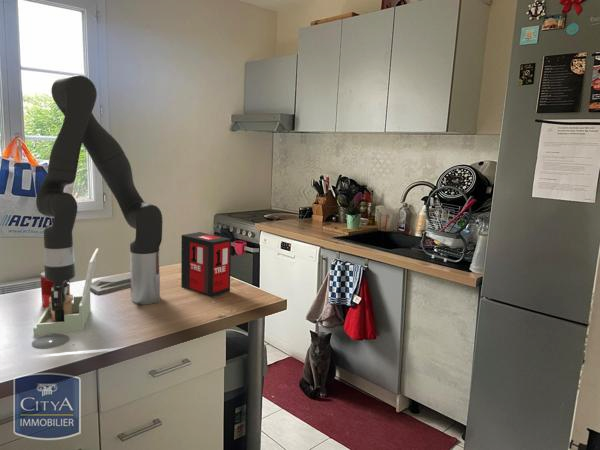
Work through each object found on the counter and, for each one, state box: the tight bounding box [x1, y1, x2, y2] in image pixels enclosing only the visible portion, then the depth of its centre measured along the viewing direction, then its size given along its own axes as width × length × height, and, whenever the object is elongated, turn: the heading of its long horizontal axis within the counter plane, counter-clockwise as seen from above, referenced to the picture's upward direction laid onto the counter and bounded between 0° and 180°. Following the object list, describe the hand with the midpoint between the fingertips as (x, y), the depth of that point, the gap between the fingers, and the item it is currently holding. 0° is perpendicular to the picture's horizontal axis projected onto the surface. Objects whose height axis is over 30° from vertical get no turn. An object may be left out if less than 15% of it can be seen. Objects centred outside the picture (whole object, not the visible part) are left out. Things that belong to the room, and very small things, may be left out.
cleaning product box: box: [180, 231, 232, 298], centre depth 161 cm, size 16×9×20 cm, turn 54°
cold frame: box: [33, 289, 92, 336], centre depth 126 cm, size 12×16×8 cm
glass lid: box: [81, 248, 99, 304], centre depth 127 cm, size 12×16×1 cm
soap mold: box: [90, 273, 131, 296], centre depth 162 cm, size 10×20×4 cm, turn 143°
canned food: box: [40, 270, 54, 309], centre depth 139 cm, size 8×8×11 cm
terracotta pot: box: [49, 293, 74, 322], centre depth 126 cm, size 6×6×9 cm
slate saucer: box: [31, 333, 70, 350], centre depth 114 cm, size 8×8×1 cm
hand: (62, 318), depth 126 cm, fingers open, 6 cm apart
